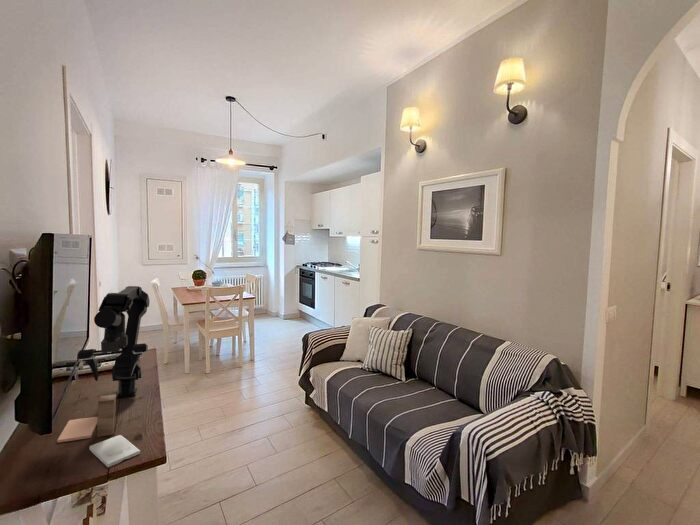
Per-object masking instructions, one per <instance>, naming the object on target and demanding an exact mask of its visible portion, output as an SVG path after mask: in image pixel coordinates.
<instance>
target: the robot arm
mask: <svg viewBox="0 0 700 525" xmlns="http://www.w3.org/2000/svg"><path fill="white" fill-rule="evenodd" d="M149 297H150V296H149V294H148V293H147V292H145V291H144V290H143V289H142V287H141V286H136V285H134V286H133V285H128V286H125V288H124V289H122V290H121V291H119V292H108V293H107V294H106V296H104V297H103V299H102V301H101V304H100V305H99V307H98V312H97V313H96V314H95V315H94V318H93V320H94V321H93V322H94V324H95V325H96V326H97V327H98V328H102V329H104V330H103V331H104V334H103V338H102V340H101V342H100V350H99V349H98V350H97V349H96V348H90V349H80V350H78V352H77V355H76V360H81V361H82V362H83V363H86V364H87V365H88V366H89V368H90V370H91V373H92V376H93V378H94V380H95V382H98V381H99V366H98V364H99V363H98V359H97V358H96V357H103V356H109V355H117V354H119V356H116V358H115V361H114V364H113V366H112V368H111V377H112V382H115V381H117V391H116V399H119V398H130V397H136V395H137V391H138V388H137V387H136V381H138V380H139V379H142V378H143V375H142V368H141V365H140V361H139V359H140V357H141V356H144V353H148V352H149V345H148V344H147V343H138V340H139V333H140V326H141V320H142V318H143V317H144V316H145V314H146V313H147V311H148V308H149V307H150V298H149ZM125 313H126V314H127V322H126V315H125Z"/></svg>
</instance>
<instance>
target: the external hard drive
mask: <svg viewBox="0 0 700 525" xmlns="http://www.w3.org/2000/svg"><path fill="white" fill-rule="evenodd" d="M89 451H91V453H92V454H93V455H94V456H95V457H96V458H98V460H99V461H101V463H102V464H104V466H106V468H110V467H112V466H115V465H117V464H120V463H121V462H123V461H125V460H129V459H131V458H133V457H135V456H138V455H140V454H141V450H140V449H139V448H138V447H136V446H135V445H134V444H133V443H131V442H130V441H129V440H128V439H127V438H125V437H124V436H123V435H122V434H118V435H116V436H113V437H111V438H108V439H105V440H103V441H99V442H97V443H95V444H91V445H89Z"/></svg>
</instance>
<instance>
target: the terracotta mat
mask: <svg viewBox="0 0 700 525" xmlns="http://www.w3.org/2000/svg"><path fill="white" fill-rule="evenodd" d="M97 420H98V416H92V417H84V418H76V419H69V420H68V422H67V424H65V426H64V428H63V430H62V432H61V433H60V435H59V436H58V438H57V440H56V442H57V444H58V443H65V442H70V441H71V442H72V441H77V440H78V441H79V440H84V439H90V438H92V436H93V434H94V432H95V429H96V427H97Z"/></svg>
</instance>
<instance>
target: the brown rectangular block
mask: <svg viewBox="0 0 700 525" xmlns="http://www.w3.org/2000/svg"><path fill="white" fill-rule="evenodd" d="M116 394H117V393H116ZM116 394H108V395H100V398H99V399H98V402H97V417H98V420H97V425H96V427H97V428H96V437H97V438H99V437H105V436H111V435H114V432H115V428H116V410H117V404H116V403H117V398H116Z"/></svg>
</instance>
